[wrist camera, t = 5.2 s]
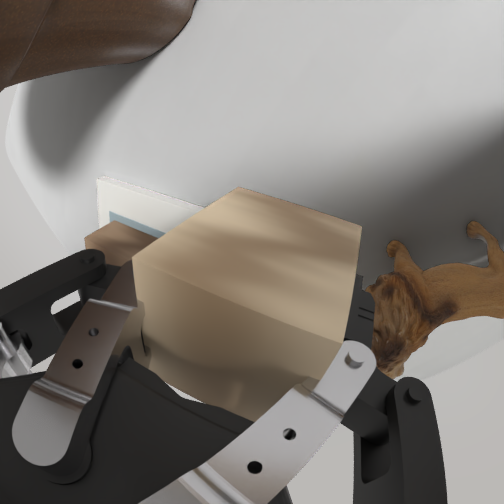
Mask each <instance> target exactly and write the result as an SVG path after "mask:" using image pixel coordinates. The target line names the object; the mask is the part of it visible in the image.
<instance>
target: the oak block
mask: <svg viewBox="0 0 504 504" xmlns="http://www.w3.org/2000/svg"><path fill="white" fill-rule="evenodd" d="M361 231H362V226H359V225H357V224H354V223H351V222H348V221H345V220H342V219H339V218H336V217H334V216H331V215H328V214H325V213H322V212H319V211H316V210H313V209H309V208H306V207H303V206H300V205H297V204H294V203H291V202H288V201H284V200H281V199H278V198H275V197H271V196H268V195H265V194H261V193H258V192H254V191H251V190H248V189H244V188H241V187H237V188H236V189H234V190H232V191H231V192H229V193H228V194H226V195H224V196H223V197H221V198H220V199H218V200H216V201H215V202H213V203H212V204H210V205H209V206H207V207H205V208H204V209H202V210H201V211H199V212H198V213H196V214H195V215H193V216H191V217H190V218H188V219H187V220H185V221H184V222H182V223H181V224H179V225H178V226H176V227H175V228H173V229H172V230H170V231H169V232H167V233H166V234H164V235H163V236H161V237H160V238H159V239H157V240H156V241H154V242H153V243H151V244H150V245H148V246H147V247H146V248H144V249H143V250H141V251H140V252H138V253H137V254H136V255H134V256H133V257H132V263H133V272H134V281H135V289H136V297H137V299H138V300H140V301H142V302H143V303H144V308H145V317H144V319H143V322H142V326H141V329H142V335H143V341H144V345H146V346H148V347H149V348H150V349H151V354H152V358H151V361H150V364H149V370H151V371H153V372H154V373H156V374H157V375H158V376H159V377H160V378H161V379H162V380H163V381H164V382H166V383H168V384H169V385H171V386H173V387H175V388H177V389H178V390H180V391H182V392H184V393H186V394H188V395H190V396H192V397H194V398H196V399H197V400H199V401H201V402H203V403H205V404H209V405H213V406H217V407H221V408H223V409H225V410H228V411H230V412H232V413H234V414H237V415H239V416H241V417H244V418H246V419H249V420H251V421H253V422H256V421H257V420H258V419H259V418H260V417H261V416H263V415H264V414H265V413H266V412H267V411H268V410H269V409H270V408H271V407H272V406H274V405H275V404H276V403H277V402H278V401H279V400H280V399H281V398H282V397H283V396H284V395H285V394H286V393H287V392H288V391H289V390H290V389H291V388H293V387H294V386H295V385H296V384H298V383H299V384H301V383H303V382H304V381H305V380H306V379H307V378H308V377H312V378H315V379H318V380H321V379H322V377H323V376H324V374H325V373H326V371H327V369H328V368H329V366H330V365H331V363H332V361H333V360H334V358H335V356H336V354H337V353H338V351H339V349H340V348H341V346H342V344H343V340H344V336H345V331H346V326H347V321H348V316H349V311H350V305H351V300H352V294H353V288H354V282H355V276H356V269H357V262H358V255H359V248H360V240H361Z"/></svg>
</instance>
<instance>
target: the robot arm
mask: <svg viewBox="0 0 504 504" xmlns="http://www.w3.org/2000/svg"><path fill="white" fill-rule="evenodd" d="M362 281H363V277H362V276H360V275H357V274H356V276H355V282H354V288H353V294H352V300H351V305H350V311H349V316H348V321H347V326H346V331H345V336H344V340H343V344H342V346H341V348H340V349H339V351H338V353H337V354H336V356H335V358H334V360H333V361H332V363H331V365H330V366H329V368H328V369H327V371H326V373H325V374H324V376H323V377H322V379H321V380H318V379H315V378H312V377H308V378H307V379H306V380H305V381H304V382H303V383H301V384H299V383H298V384H296V385H295V386H294V387H293V388H291V389H290V390H289V391H288V392H287V393H286V394H285V395H284V396H283V397H282V398H281V399H280V400H279V401H278V402H277V403H276V404H275V405H274V406H272V407H271V408H270V409H269V410H268V411H267V412H266V413H265V414H264V415H263V416H261V417H260V418H259V419H258V420H257V421H256V422H253V421H251V420H249V419H246V418H244V417H241V416H239V415H237V414H234V413H232V412H230V411H228V410H225V409H223V408H221V407H217V406H213V405H209V404H204V403H200V402H196V401H192V400H189V399H185V398H182V397H181V396H179V395H178V394H177V393H176V392H175V391H174V390H173V389H172V388H170V387H169V386H168V385H167V384H166V383H165V382H164V381H163V380H162V379H161V378H160V377H159V376H158V375H157V374H156V373H154V372H153V371H151V370H149V364H150V361H151V358H152V354H151V349H150V348H149V347H148V346H146V345H144V341H143V335H142V329H141V326H142V322H143V319H144V317H145V308H144V303H143V302H142V301H140V300H138V299H137V297H136V289H135V281H134V272H133V263H132V260H130V261H127V262H126V263H124V264H123V265H122V267H121V266H115V265H110V264H106V260H105V255H104V253H103V252H102V251H100V250H97V249H86V250H82V251H80V252H77V253H75V254H73V255H71V256H68V257H66V258H64V259H62V260H60V261H58V262H56V263H53V264H51V265H49V266H47V267H45V268H43V269H40V270H38V271H36V272H34V273H32V274H30V275H28V276H26V277H24V278H22V279H20V280H18V281H16V282H14V283H12V284H10V285H8V286H6V287H4V288H2V289H0V504H293V503H292V500H291V497H290V494H289V491H288V488H287V484H288V483H289V482H290V481H291V480H292V479H293V478H294V477H295V476H296V475H297V473H298V472H299V471H300V470H301V469H302V468H303V467H304V466H305V465H306V464H307V463H308V461H309V460H310V459H311V458H312V457H313V456H314V454H315V453H316V452H317V451H318V450H319V449H320V447H321V446H322V445H323V444H324V443H325V441H326V440H327V439H328V438H329V436H330V435H331V434H332V433H333V431H334V430H335V429H336V427H337V426H338V425H339V424H340V423H341V424H343V425H344V426H346V427H347V428H349V429H350V430H352V431H353V432H354V490H353V491H354V492H353V504H447V490H446V479H445V470H444V462H443V455H442V448H441V442H440V436H439V430H438V425H437V420H436V415H435V411H434V406H433V401H432V397H431V393H430V391H429V389H428V388H427V386H426V385H425V384H424V383H423V382H422V381H420V380H419V379H417V378H414V377H404V378H402V379H400V380H399V381H398V382H396V381H395V380H393V379H391V378H390V377H388V376H387V375H385V374H384V373H382V372H381V371H380V370H379V369H378V368H377V366H376V358H375V356H374V354H373V352H372V351H371V347H372V338H373V327H374V315H375V314H374V313H375V301H374V299H373V297H372V295H371V293H369V292H366V291H363V290H361V289H362ZM76 290H78V293H79V296H80V301H78V302H76V303H74V304H73V305H71V306H69V307H67V308H65V309H63V310H61V311H60V312H58V313H56V314H53V315H52V314H51V306H52V304H53V303H54V302H55V301H57V300H59V299H61V298H63V297H65V296H66V295H68V294H70V293H72V292H74V291H76ZM55 353H56V354H55ZM53 354H55V356H54V358H53V359H52V361H51V363H50V365H49V367H48V369H47V371H44V372H38V373H32V372H31V371H30V368H31V367H33V366H35V365H36V364H38V363H40V362H41V361H43V360H45V359H46V358H48V357H50V356H51V355H53Z"/></svg>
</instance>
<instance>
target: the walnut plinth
mask: <svg viewBox="0 0 504 504" xmlns="http://www.w3.org/2000/svg"><path fill="white" fill-rule="evenodd" d="M84 239H85V246H86V249H97V250H100V251H102V252H103V253H104V255H105V260H106V264H110V265H115V266H121V267H122V265H123V264H124V263H126V262H127V261H130V260H132V257H133V256H134V255H136V254H137V253H138V252H140V251H141V250H143V249H144V248H146V247H147V246H148V245H150V244H151V243H153V242H154V241H156V240H157V239H159V238H157V237H154V236H152V235H149V234H147V233H144V232H142V231H139V230H137V229H135V228H132V227H130V226H127V225H125V224H123V223H120V222H118V221H115V220H114V221H112V222H110V223H109V224H107V225H105V226H103V227H102V228H100V229H98V230H97V231H95V232H93V233H92V234H90V235H88V236H87V237H85V238H84Z"/></svg>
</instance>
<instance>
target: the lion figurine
mask: <svg viewBox="0 0 504 504" xmlns="http://www.w3.org/2000/svg"><path fill="white" fill-rule="evenodd" d="M467 235H468V236H469V237H470V238H472V239H481V240H483V241H484V242H485V243H486V244H487V255H488V261H489V265H488V267H486V268H479V267H476V266H472V265H468V264H462V263H448V264H442V265H438V266H435V267H432V268H430V269H427V270H425V271H423V270H422V269H421V268H420V267H419V266H417V265H416V264H415V263H414V262H413V260H412V258H411V256H410V255H409V252H408V250H407V248H406V247H405V246H404V245H403V244H402V243H401V242H399V241H396V240H393V241H391V242H390V243H389V244H388V246H387V253H388V256H389V257H395V261H394V272H391V273H389V274H384V275H380V276H379V278H378V279H377V280H376V283H375V284H373V285H370V286H368V287H367V288H366V290H365V291H366V292H369V293H371V295H372V297H373V299H374V301H375V313H374V314H375V315H374V327H373V338H372V347H371V351H372V352H373V354H374V356H375V358H376V366H377V368H378V369H379V370H380V371H381V372H382V373H384V374H385V375H387V376H388V377H390V378H391V379H394V378H396V377H398V376H400V375H402V374H403V372H404V362H405V361H407V359H408V358H409V356H410V355H411V353H412V352H414V351H416V350H417V349H418V348H419V347H422V346H423V345H424V344H425V343H426V341H427V339H428V335H429V334H430V333H431V332H432V331H433V330H434V329H435V328H436V327H438V326H440V325H441V324H444V323H447V322H451V321H457V320H463V319H466V318H470V317H475V316H490V317H495V318H501V319H504V252H503V251H502V250H501V248H500V247H499V244H498V240H497V239H496V238H495V237H494V236H492V235H491V234H490V233H489V232H488V231H487V230H486V229H485V228H484V227H483V226H482V225H481V224H479V223H478V222H476V221H471V222H470V223H469V224H468V225H467Z"/></svg>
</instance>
